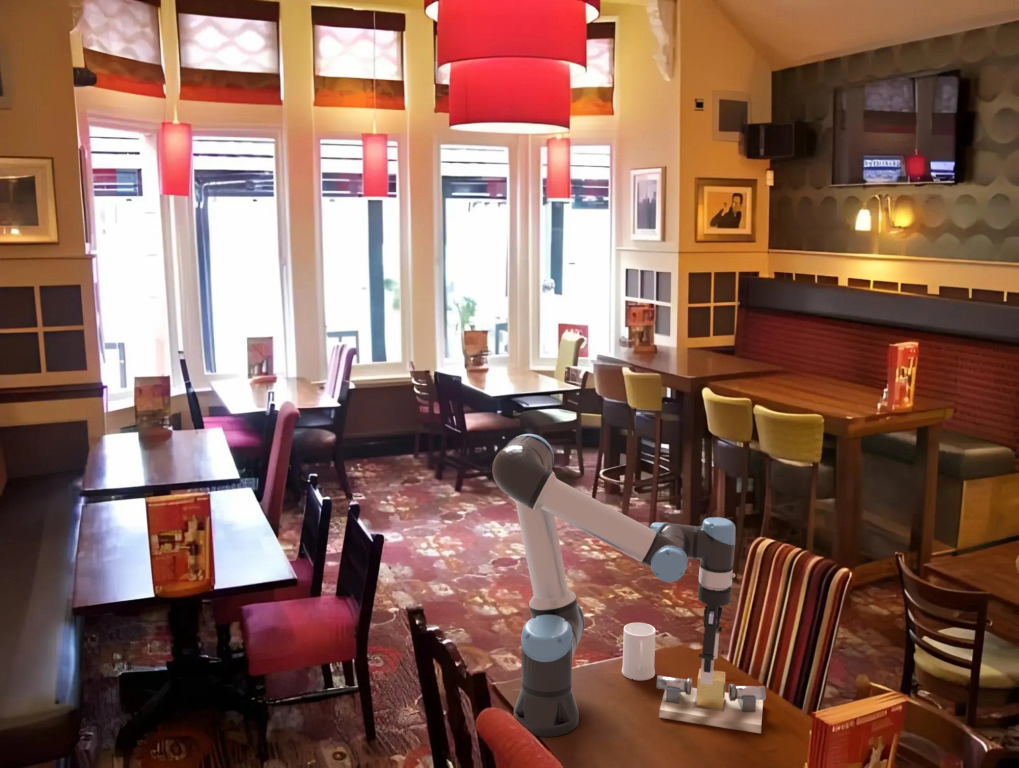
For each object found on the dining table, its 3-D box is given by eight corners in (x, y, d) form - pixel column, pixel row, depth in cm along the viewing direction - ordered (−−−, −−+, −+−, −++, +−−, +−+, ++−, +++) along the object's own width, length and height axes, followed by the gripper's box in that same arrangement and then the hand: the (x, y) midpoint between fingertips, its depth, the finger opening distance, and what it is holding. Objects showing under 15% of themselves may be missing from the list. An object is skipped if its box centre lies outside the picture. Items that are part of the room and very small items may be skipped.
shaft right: (731, 711, 215) (732, 690, 214) (727, 700, 220) (728, 679, 219) (766, 712, 214) (767, 690, 213) (761, 701, 219) (762, 680, 218)
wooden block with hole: (695, 705, 217) (697, 677, 216) (698, 695, 222) (699, 668, 220) (723, 709, 215) (724, 681, 214) (724, 699, 220) (726, 672, 219)
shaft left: (655, 700, 220) (656, 679, 219) (658, 690, 224) (659, 669, 223) (689, 705, 217) (690, 684, 216) (691, 695, 222) (692, 674, 221)
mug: (655, 688, 230) (657, 642, 228) (621, 685, 231) (622, 640, 229) (654, 666, 241) (655, 622, 239) (621, 664, 242) (622, 621, 240)
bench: (659, 717, 216) (659, 708, 215) (666, 691, 228) (666, 683, 228) (760, 733, 209) (761, 724, 209) (762, 705, 221) (763, 697, 221)
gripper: (727, 607, 201) (721, 698, 204) (735, 568, 224) (728, 650, 228) (693, 602, 203) (686, 692, 206) (703, 564, 226) (698, 645, 230)
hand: (708, 670), depth 217 cm, fingers open, 13 cm apart
